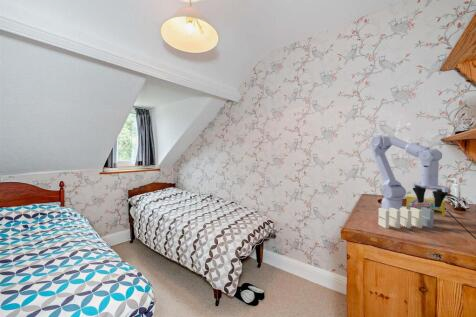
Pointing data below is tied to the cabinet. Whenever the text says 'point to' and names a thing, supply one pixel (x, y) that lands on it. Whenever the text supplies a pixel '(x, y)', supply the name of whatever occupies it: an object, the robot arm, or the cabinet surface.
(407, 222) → the ivory domino
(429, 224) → the slate domino
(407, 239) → the cabinet surface
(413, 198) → the candy box
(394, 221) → the ivory domino
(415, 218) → the ivory domino
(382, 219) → the ivory domino
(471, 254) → the cabinet surface
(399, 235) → the cabinet surface
